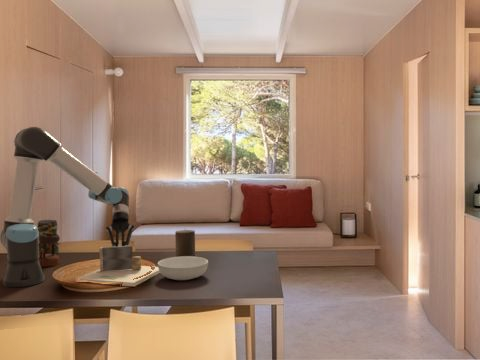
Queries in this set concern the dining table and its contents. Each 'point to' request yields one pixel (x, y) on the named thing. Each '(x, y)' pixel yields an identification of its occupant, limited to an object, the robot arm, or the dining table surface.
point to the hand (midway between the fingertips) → (119, 257)
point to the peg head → (118, 259)
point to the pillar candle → (185, 243)
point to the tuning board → (121, 276)
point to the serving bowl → (182, 267)
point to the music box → (48, 247)
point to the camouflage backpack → (53, 230)
